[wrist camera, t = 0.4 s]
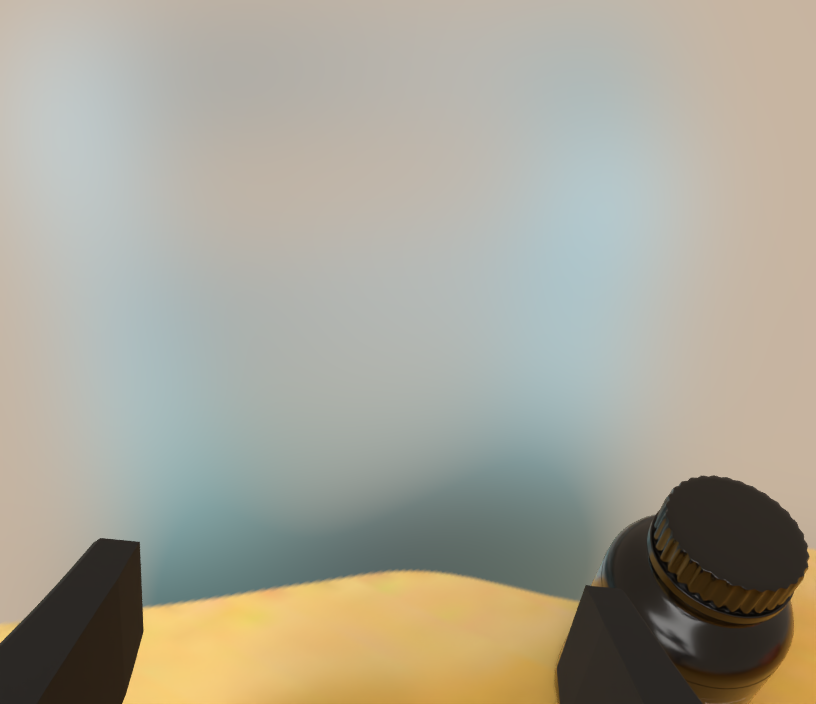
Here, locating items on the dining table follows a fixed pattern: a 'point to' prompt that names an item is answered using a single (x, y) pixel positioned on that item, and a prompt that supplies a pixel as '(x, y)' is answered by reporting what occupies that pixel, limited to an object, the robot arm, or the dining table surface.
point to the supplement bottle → (713, 583)
